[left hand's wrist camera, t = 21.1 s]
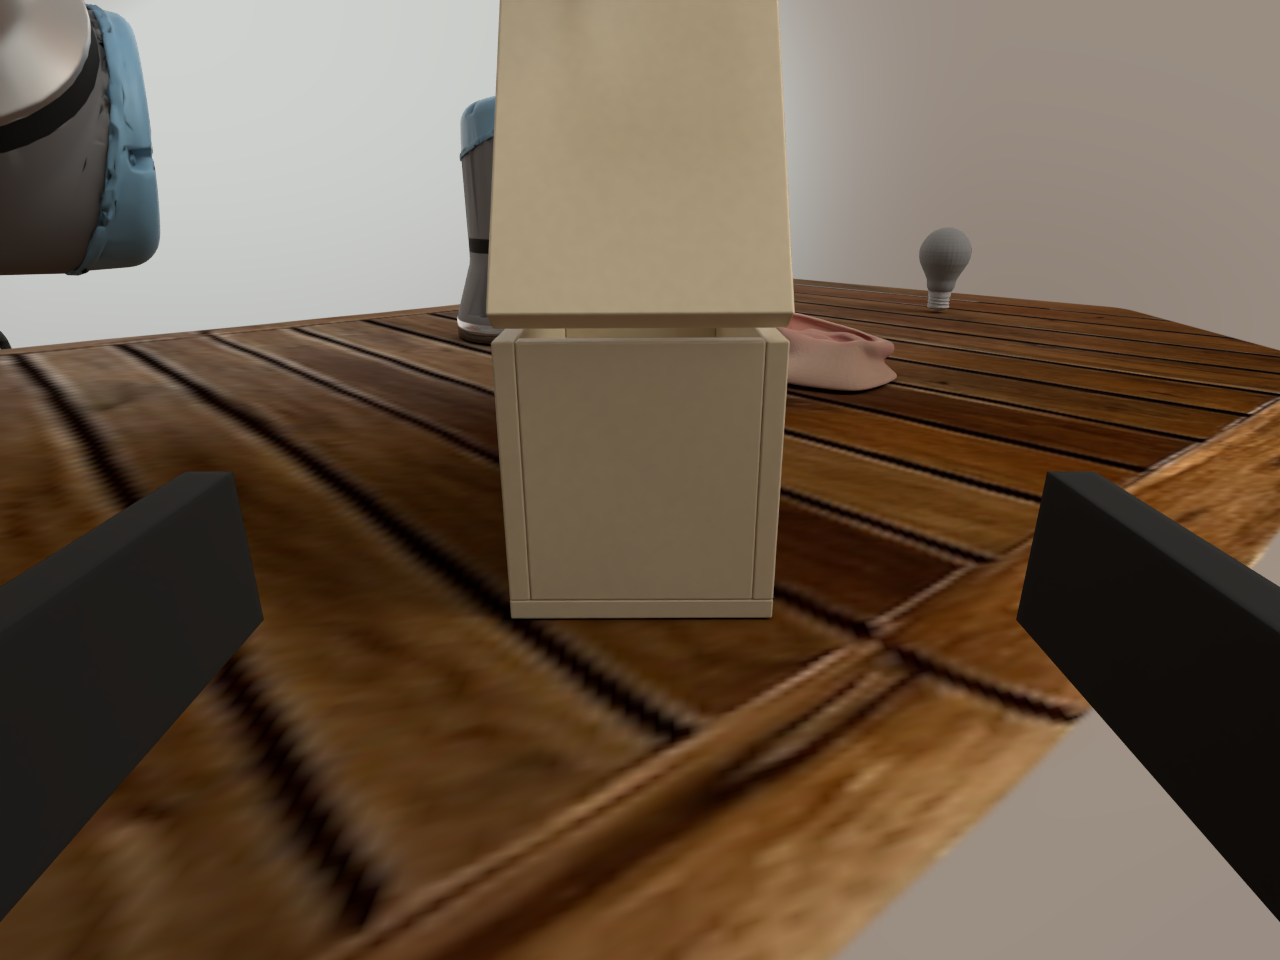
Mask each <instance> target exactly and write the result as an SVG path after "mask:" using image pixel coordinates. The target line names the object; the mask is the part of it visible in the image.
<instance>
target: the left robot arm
mask: <svg viewBox="0 0 1280 960" xmlns="http://www.w3.org/2000/svg"><path fill="white" fill-rule="evenodd" d="M152 153H153V150H152V143H151V129H150V120H149V113H148V106H147V99H146V92H145V86H144V80H143V74H142V68H141V62H140V57H139V52H138V47H137V43H136V39H135V35H134V32H133V30H132V28H131V26H130V24H129V23H128V22H127V21H126V20H125V19H124V18H123V17H121V16H120V15H118V14H116V13H113V12H109V11H105V10H102V9H101V8H99V7H98V6H96V5H88V4H85V3H84V0H0V275H24V274H61V273H65V274H67V275H81V274H84V273H87V272H88V271H89V270H101V269H112V268H124V267H133V266H137V265H140V264H142V263H144V262H146V261H147V260H149V259H150V258H151V257H152V256H153V255H154V253H155V252H156V250H157V248H158V245H159V240H160V216H159V201H158V190H157V181H156V173H155V167H154V161H153V159H152ZM2 349H12V348H11V346H10V343H9V342H8V340H7V338H6V337H5V336H4V335H3V333H2V332H1V331H0V350H2ZM263 620H264V619H263V614H262V609H261V604H260V599H259V595H258V590H257V585H256V580H255V576H254V571H253V566H252V561H251V557H250V552H249V547H248V542H247V537H246V533H245V528H244V523H243V518H242V514H241V509H240V504H239V499H238V495H237V490H236V485H235V480H234V475H233V472H184V473H182V474H181V475H179V476H177V477H176V478H174V479H173V480H171V481H169V482H168V483H166V484H165V485H163V486H161V487H160V488H158V489H157V490H155V491H153V492H152V493H150V494H149V495H147V496H145V497H144V498H142V499H141V500H139V501H137V502H136V503H134V504H133V505H131V506H129V507H128V508H126V509H125V510H123V511H121V512H120V513H118V514H117V515H115V516H113V517H112V518H110V519H108V520H107V521H105V522H104V523H102V524H100V525H99V526H97V527H96V528H94V529H92V530H91V531H89V532H88V533H86V534H84V535H83V536H81V537H80V538H78V539H76V540H75V541H73V542H72V543H70V544H68V545H67V546H65V547H64V548H62V549H60V550H59V551H57V552H56V553H54V554H52V555H51V556H49V557H48V558H46V559H44V560H43V561H41V562H40V563H38V564H36V565H35V566H33V567H31V568H30V569H28V570H27V571H25V572H23V573H22V574H20V575H19V576H17V577H15V578H14V579H12V580H11V581H9V582H7V583H6V584H4V585H3V586H1V587H0V922H1V920H2V919H3V918H4V917H5V916H6V915H7V914H8V912H9V911H10V910H11V909H12V908H13V907H14V906H15V904H16V903H17V902H18V901H19V900H20V899H21V897H22V896H23V895H24V894H25V893H26V892H27V891H28V889H29V888H30V887H31V886H32V885H33V884H34V883H35V881H36V880H37V879H38V878H39V877H40V876H41V875H42V873H43V872H44V871H45V870H46V869H47V868H48V867H49V865H50V864H51V863H52V862H53V861H54V860H55V858H56V857H57V856H58V855H59V854H60V853H61V852H62V850H63V849H64V848H65V847H66V846H67V845H68V844H69V842H70V841H71V840H72V839H73V838H74V837H75V836H76V834H77V833H78V832H79V831H80V830H81V829H82V828H83V826H84V825H85V824H86V823H87V822H88V821H89V820H90V818H91V817H92V816H93V815H94V814H95V813H96V811H97V810H98V809H99V808H100V807H101V806H102V805H103V803H104V802H105V801H106V800H107V799H108V798H109V797H110V795H111V794H112V793H113V792H114V791H115V790H116V789H117V787H118V786H119V785H120V784H121V783H122V782H123V781H124V779H125V778H126V777H127V776H128V775H129V774H130V772H131V771H132V770H133V769H134V768H135V767H136V766H137V764H138V763H139V762H140V761H141V760H142V759H143V758H144V756H145V755H146V754H147V753H148V752H149V751H150V750H151V748H152V747H153V746H154V745H155V744H156V743H157V742H158V740H159V739H160V738H161V737H162V736H163V735H164V733H165V732H166V731H167V730H168V729H169V728H170V727H171V725H172V724H173V723H174V722H175V721H176V720H177V719H178V717H179V716H180V715H181V714H182V713H183V712H184V711H185V709H186V708H187V707H188V706H189V705H190V704H191V703H192V701H193V700H194V699H195V698H196V697H197V696H198V695H199V693H200V692H201V691H202V690H203V689H204V688H205V686H206V685H207V684H208V683H209V682H210V681H211V680H212V678H213V677H214V676H215V675H216V674H217V673H218V672H219V670H220V669H221V668H222V667H223V666H224V665H225V664H226V662H227V661H228V660H229V659H230V658H231V657H232V656H233V654H234V653H235V652H236V651H237V650H238V649H239V647H240V646H241V645H242V644H243V643H244V642H245V641H246V639H247V638H248V637H249V636H250V635H251V634H252V633H253V631H254V630H255V629H256V628H257V627H258V626H259V625H260V623H261V622H262V621H263ZM1016 620H1017V621H1018V622H1019V623H1020V625H1021V626H1022V627H1023V628H1024V629H1025V630H1026V631H1027V633H1028V634H1029V635H1030V636H1031V637H1032V638H1033V639H1034V641H1035V642H1036V643H1037V644H1038V645H1039V646H1040V647H1041V649H1042V650H1043V651H1044V652H1045V653H1046V654H1047V656H1048V657H1049V658H1050V659H1051V660H1052V661H1053V662H1054V664H1055V665H1056V666H1057V667H1058V668H1059V669H1060V670H1061V672H1062V673H1063V674H1064V675H1065V676H1066V677H1067V678H1068V680H1069V681H1070V682H1071V683H1072V684H1073V685H1074V686H1075V688H1076V689H1077V690H1078V691H1079V692H1080V693H1081V695H1082V696H1083V697H1084V698H1085V699H1086V700H1087V701H1088V703H1089V704H1090V705H1091V706H1092V707H1093V708H1094V709H1095V711H1096V712H1097V713H1098V714H1099V715H1100V716H1101V717H1102V719H1103V720H1104V721H1105V722H1106V723H1107V724H1108V725H1109V727H1110V728H1111V729H1112V730H1113V731H1114V732H1115V733H1116V735H1117V736H1118V737H1119V738H1120V739H1121V740H1122V741H1123V743H1124V744H1125V745H1126V746H1127V747H1128V748H1129V750H1130V751H1131V752H1132V753H1133V754H1134V755H1135V756H1136V758H1137V759H1138V760H1139V761H1140V762H1141V763H1142V764H1143V766H1144V767H1145V768H1146V769H1147V770H1148V771H1149V772H1150V774H1151V775H1152V776H1153V777H1154V778H1155V779H1156V780H1157V782H1158V783H1159V784H1160V785H1161V786H1162V787H1163V789H1164V790H1165V791H1166V792H1167V793H1168V794H1169V795H1170V797H1171V798H1172V799H1173V800H1174V801H1175V802H1176V803H1177V805H1178V806H1179V807H1180V808H1181V809H1182V810H1183V811H1184V813H1185V814H1186V815H1187V816H1188V817H1189V818H1190V820H1191V821H1192V822H1193V823H1194V824H1195V825H1196V826H1197V828H1198V829H1199V830H1200V831H1201V832H1202V833H1203V834H1204V836H1205V837H1206V838H1207V839H1208V840H1209V841H1210V842H1211V844H1212V845H1213V846H1214V847H1215V848H1216V849H1217V850H1218V852H1219V853H1220V854H1221V855H1222V856H1223V857H1224V858H1225V860H1226V861H1227V862H1228V863H1229V864H1230V865H1231V867H1232V868H1233V869H1234V870H1235V871H1236V872H1237V873H1238V875H1239V876H1240V877H1241V878H1242V879H1243V880H1244V881H1245V883H1246V884H1247V885H1248V886H1249V887H1250V888H1251V889H1252V891H1253V892H1254V893H1255V894H1256V895H1257V896H1258V897H1259V899H1260V900H1261V901H1262V902H1263V903H1264V904H1265V906H1266V907H1267V908H1268V909H1269V910H1270V911H1271V912H1272V913H1273V915H1274V916H1275V917H1276V918H1277V919H1278V920H1279V922H1280V587H1279V586H1277V585H1276V584H1274V583H1273V582H1271V581H1269V580H1268V579H1266V578H1265V577H1263V576H1261V575H1260V574H1258V573H1256V572H1255V571H1253V570H1252V569H1250V568H1249V567H1247V566H1245V565H1244V564H1242V563H1240V562H1239V561H1237V560H1236V559H1234V558H1232V557H1231V556H1229V555H1228V554H1226V553H1224V552H1223V551H1221V550H1220V549H1218V548H1216V547H1215V546H1213V545H1212V544H1210V543H1208V542H1207V541H1205V540H1204V539H1202V538H1200V537H1199V536H1197V535H1196V534H1194V533H1192V532H1191V531H1189V530H1188V529H1186V528H1184V527H1183V526H1181V525H1180V524H1178V523H1176V522H1175V521H1173V520H1172V519H1170V518H1168V517H1167V516H1165V515H1163V514H1162V513H1160V512H1159V511H1157V510H1155V509H1154V508H1152V507H1151V506H1149V505H1147V504H1146V503H1144V502H1143V501H1141V500H1139V499H1138V498H1136V497H1135V496H1133V495H1131V494H1130V493H1128V492H1127V491H1125V490H1123V489H1122V488H1120V487H1119V486H1117V485H1115V484H1114V483H1112V482H1111V481H1109V480H1107V479H1106V478H1104V477H1103V476H1101V475H1099V474H1098V473H1096V472H1047V475H1046V480H1045V485H1044V490H1043V495H1042V499H1041V504H1040V509H1039V514H1038V518H1037V523H1036V528H1035V533H1034V537H1033V542H1032V547H1031V552H1030V557H1029V561H1028V566H1027V571H1026V576H1025V580H1024V585H1023V590H1022V595H1021V599H1020V604H1019V609H1018V614H1017V619H1016Z"/></svg>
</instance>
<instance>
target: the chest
mask: <svg viewBox="0 0 1280 960" xmlns="http://www.w3.org/2000/svg"><path fill="white" fill-rule="evenodd" d="M789 347H790V342H789V341H788V340H787V339H786V338H785V337H784V336H783V335H782V334H781V333H780V332H779V331H778V330H777V329H776V328H589V329H505V330H504V331H503V332H502V333H501V334H500V335H499V336H498V337H497V338H496V339H495V340H494V341H493V342H492V343H491V351H492V365H493V378H494V392H495V405H496V418H497V432H498V445H499V459H500V472H501V485H502V499H503V512H504V526H505V539H506V553H507V566H508V579H509V593H510V599H511V600H510V608H511V618H771V617H772V606H773V600H772V598H773V589H774V574H775V559H776V544H777V529H778V513H779V498H780V483H781V468H782V453H783V438H784V423H785V407H786V392H787V377H788V362H789Z"/></svg>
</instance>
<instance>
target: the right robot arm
mask: <svg viewBox="0 0 1280 960" xmlns="http://www.w3.org/2000/svg"><path fill="white" fill-rule="evenodd" d="M495 99H496V96H493V97H489V98H485V99H482V100H479V101H477V102H475V103H473V104H471V105H470V106H468V107H467V108H466V109H465V111H464V112H463V114H462V117H461V124H460V125H461V154H460V161H462V170H463V182H464V193H465V204H466V216H467V228H468V238H469V250H470V265H469V269H468V274H467V278H466V282H465V287H464V291H463V295H462V300H461V304H460V309H459V313H458V317H457V321H458V332H459V336H460V337H461V338H463V339H466V340H469V341H473V342H479V343H487V344H491V343H492V342H493V341H494V340H495V339H496V338H497V337H498V336H499V335H500V334H501V333H502V332H503V331H504V330H505V329H494V328H492V326H491V323H490V321H489V319H488V317H487V315H486V301H487V279H488V257H489V234H490V212H491V189H492V167H493V144H494V122H495Z"/></svg>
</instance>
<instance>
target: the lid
mask: <svg viewBox="0 0 1280 960" xmlns="http://www.w3.org/2000/svg"><path fill="white" fill-rule="evenodd" d="M486 315H487V317H488V319H489V321H490V323H491V326H492V328H494V329H589V328H786V327H788V326H789V323H790V321H791V319H792V317H793V315H794V293H793V274H792V254H791V236H790V216H789V197H788V178H787V158H786V139H785V120H784V101H783V81H782V62H781V43H780V24H779V4H778V0H500V9H499V32H498V54H497V77H496V99H495V122H494V144H493V167H492V189H491V212H490V234H489V257H488V279H487V301H486Z"/></svg>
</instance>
